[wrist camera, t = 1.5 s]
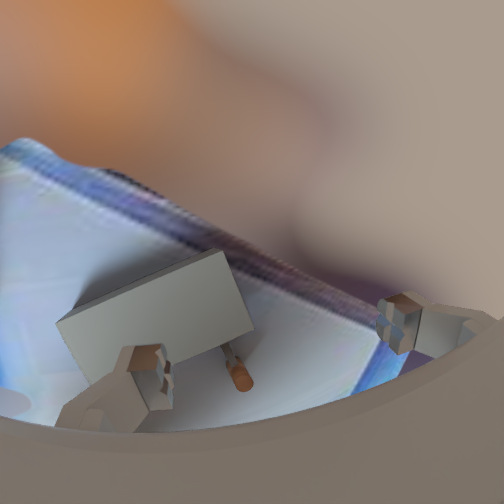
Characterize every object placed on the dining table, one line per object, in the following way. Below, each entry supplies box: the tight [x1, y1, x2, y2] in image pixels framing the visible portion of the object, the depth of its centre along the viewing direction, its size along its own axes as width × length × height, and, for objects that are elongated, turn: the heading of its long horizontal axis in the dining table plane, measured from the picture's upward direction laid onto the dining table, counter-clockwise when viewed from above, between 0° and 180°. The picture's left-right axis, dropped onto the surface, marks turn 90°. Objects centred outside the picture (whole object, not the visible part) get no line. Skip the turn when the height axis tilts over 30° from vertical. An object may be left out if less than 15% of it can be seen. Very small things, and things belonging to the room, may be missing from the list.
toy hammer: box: [220, 342, 254, 392], centre depth 39 cm, size 15×5×7 cm, turn 22°
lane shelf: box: [55, 248, 255, 385], centre depth 36 cm, size 11×25×7 cm, turn 112°
